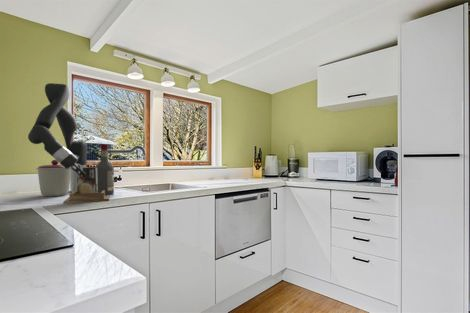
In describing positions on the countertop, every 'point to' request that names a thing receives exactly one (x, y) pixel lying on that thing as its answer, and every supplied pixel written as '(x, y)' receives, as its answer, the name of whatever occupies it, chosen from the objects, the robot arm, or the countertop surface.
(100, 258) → the countertop surface
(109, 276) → the countertop surface
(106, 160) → the liquor
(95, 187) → the coffee box
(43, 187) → the canister
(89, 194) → the walnut caddy
